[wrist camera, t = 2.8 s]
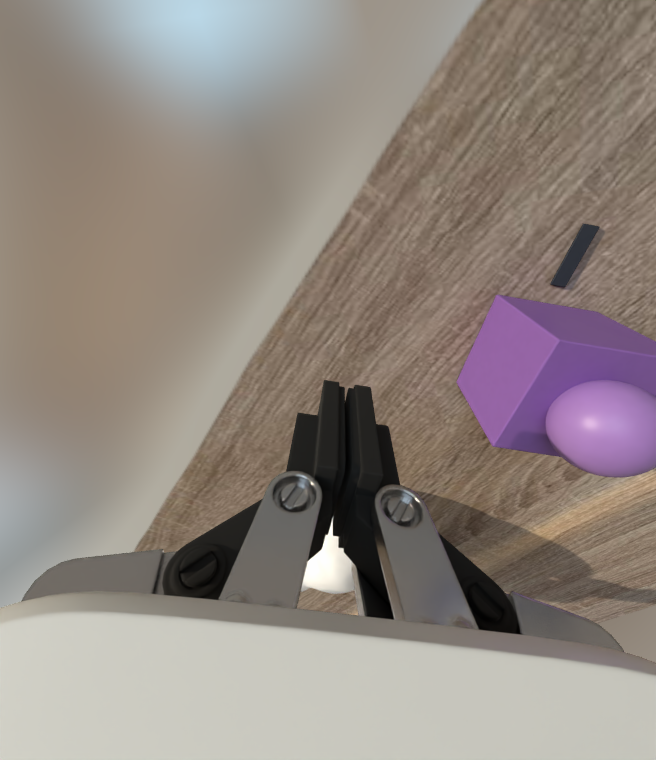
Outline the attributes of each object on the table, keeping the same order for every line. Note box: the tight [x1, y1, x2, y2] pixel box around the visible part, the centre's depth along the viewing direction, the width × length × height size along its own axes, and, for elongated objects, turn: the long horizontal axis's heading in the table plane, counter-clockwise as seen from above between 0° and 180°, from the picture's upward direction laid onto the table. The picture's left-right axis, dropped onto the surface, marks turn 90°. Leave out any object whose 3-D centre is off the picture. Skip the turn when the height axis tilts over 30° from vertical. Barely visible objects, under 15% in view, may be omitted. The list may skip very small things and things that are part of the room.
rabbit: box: [301, 518, 354, 594], centre depth 22 cm, size 12×9×12 cm
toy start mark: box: [551, 224, 599, 287], centre depth 16 cm, size 3×1×1 cm, turn 171°
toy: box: [457, 295, 656, 477], centre depth 15 cm, size 6×6×9 cm
